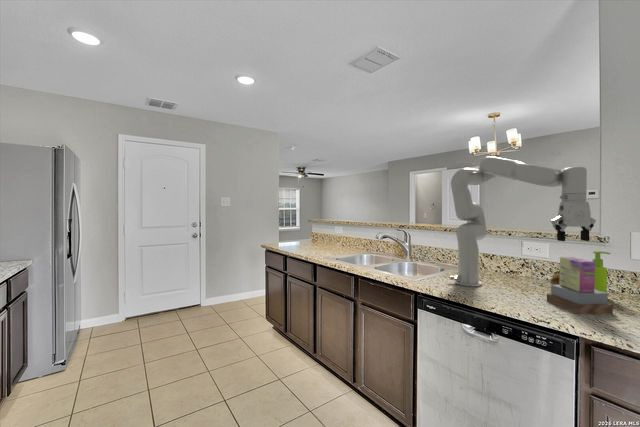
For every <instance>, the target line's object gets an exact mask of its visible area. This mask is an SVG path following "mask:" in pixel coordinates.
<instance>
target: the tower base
mask: <svg viewBox="0 0 640 427" xmlns="http://www.w3.org/2000/svg"><path fill="white" fill-rule="evenodd" d="M546 302H548V303H550V304H553V305H555V306H558V307H561V308H563V309H565V310H568V311H569V310H570V312H573V313H575V314H577V315H601V314H603V315H604V314H606V315H607V314H608V315H609V314H612V315H613V313H614V308H613V307H614V304H612V303H610V302H608V304H576V303H573V302H571V301H568V300H565V299H563V298H560V297H557V296H555V295H552V294H551V292H550V293H546Z"/></svg>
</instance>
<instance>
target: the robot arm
mask: <svg viewBox="0 0 640 427" xmlns="http://www.w3.org/2000/svg"><path fill="white" fill-rule="evenodd" d="M587 173H588V170H587V168H586V167H585V166H571V167H570V166H569V167H565V168H561V169H560V168H552V167H546V166H545V167H544V166H539V165H534V164H529V163H525V162H523V161H519V160H515V159H509V158H503V157H497V156H492V155H490V156H485V157H483V159H481V161H480V163H479V167H478V168H472V167H462V168H461V169H458V170H457V171H456V172H455V173H454V174H453V176H452V177H451V180H450V188H451V192H452V198H453V203H454V204H453V205H454V210H455V215H456V218H457V219H458V220H460V221H466V223H463V224H460V225H458V227H457V229H456V233H455V234H456V241H457V247H458V248H457V249H458V250H457V253H458V255H457V256H458V258H457V260H458V267H457V268H458V269H457V270H458V271H457V272H458V273H456V275H454V276H453V275H449V276H448V279H449V280H450V281H451V280H452V281H454V282H455V284H457V285H460V286H463V287H473V288H475V287H481V286H482V285H483V281H481V280H480V276H479V274H480V272H479V270H480V268H479V267H480V266H479V265H480V260H479V258H480V255H479V254H480V253H479V245H478V241H480V240H483V239H484V238H485V237H486V235H487V232H488V231H487V225H486V224H487V223H486V219H485V214H484V213H485V212H484V210H483V208H482V206H481V205H480V204H478V203H476V202H473V200H472V194H471V191H470V189H469V187H468V186H478V185H482V184H484V183H486V182H488V181H490V180H491V179H494V178H496V177H501V178H505V179H509V180H513V181H520V182H523V183H527V184H532V185H536V186H539V187H540V186H541V187H549V188H550V187H551V188H553V187H560V186H561V195H560V196H559V199H561V201H560V202H559V205H558V211H557V216H556V217H555V218H553V219H551V220H550V222H551V224H552V227H553V228H554V229H555V231H556V240H557V241H559V242H566V231H565V230H566V228H567V227H570V228H572V227H573V228H575V227H577V228H578V227H580V229H581V230H580V241H585V242H589V241H590V232H591V231H592V228H594V226H595V224H596V221H597V220H596V219H595V218H593V217H592V216H591V208H590V207H591V206H590V203H589V201H587V183H588V182H587V179H588V174H587Z"/></svg>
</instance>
